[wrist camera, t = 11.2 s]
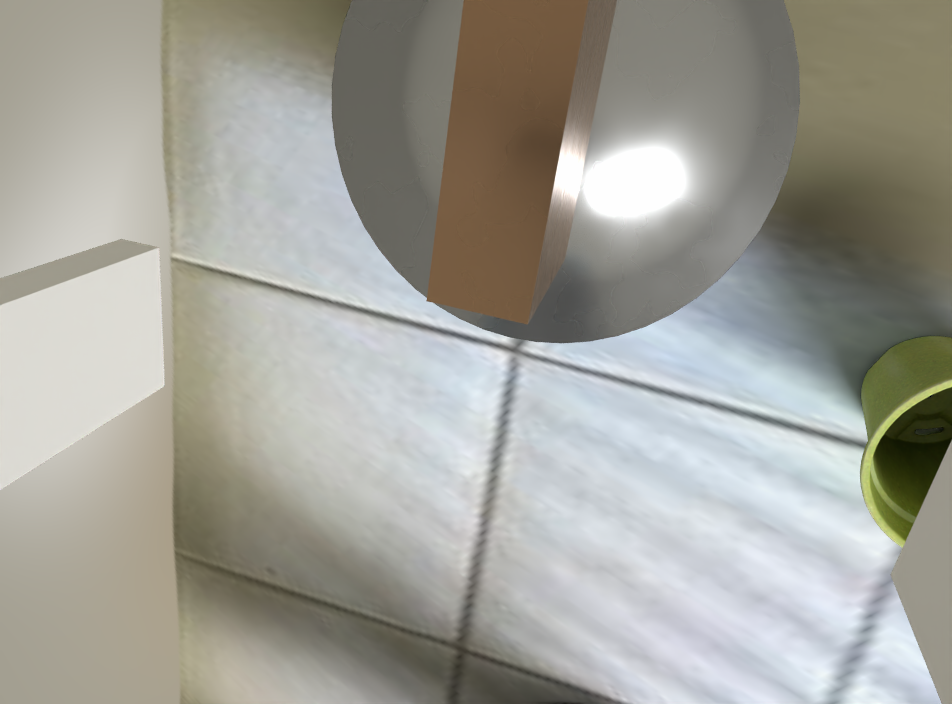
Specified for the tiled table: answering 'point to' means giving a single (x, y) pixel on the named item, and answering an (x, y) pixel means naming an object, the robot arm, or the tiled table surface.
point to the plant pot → (905, 430)
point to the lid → (564, 151)
